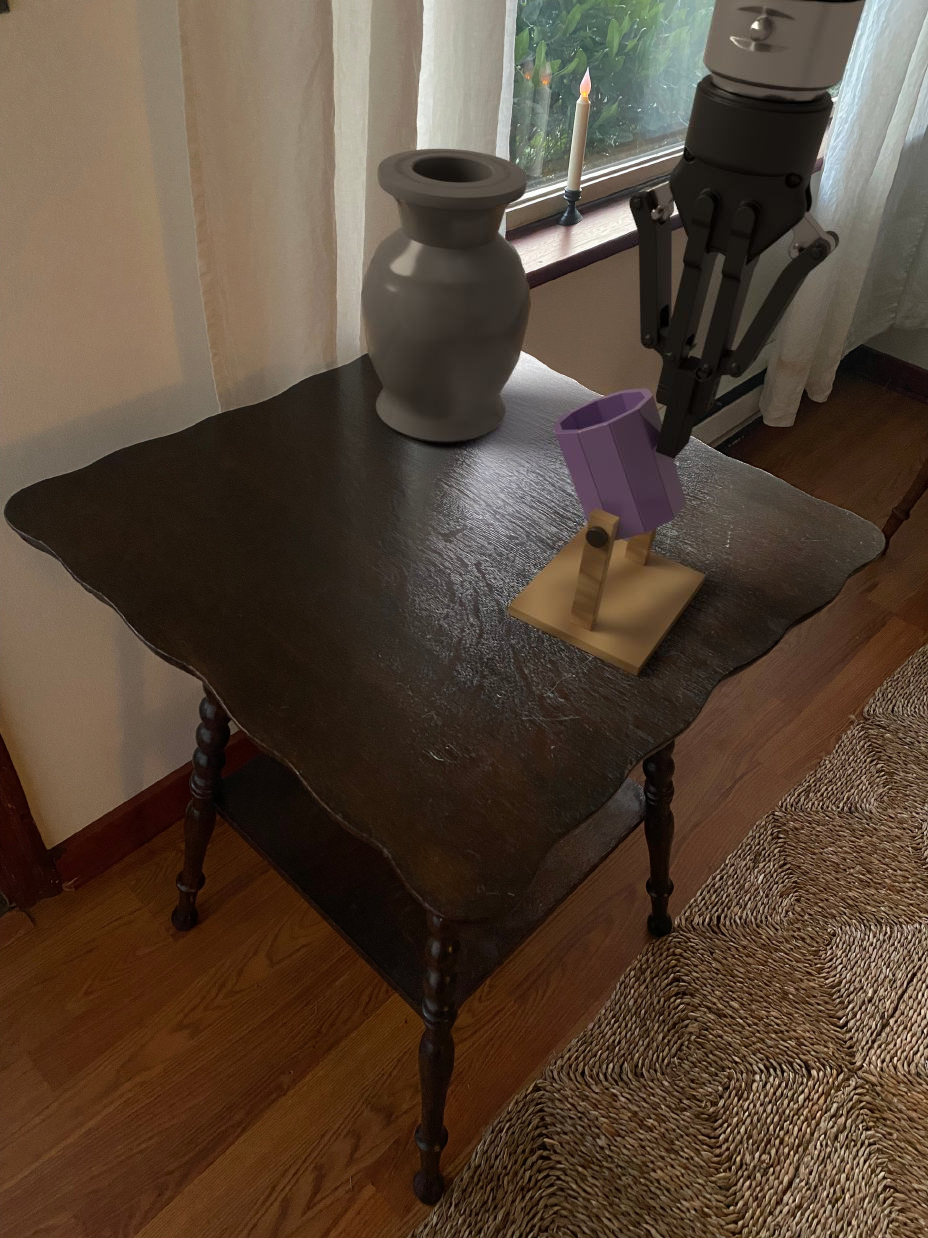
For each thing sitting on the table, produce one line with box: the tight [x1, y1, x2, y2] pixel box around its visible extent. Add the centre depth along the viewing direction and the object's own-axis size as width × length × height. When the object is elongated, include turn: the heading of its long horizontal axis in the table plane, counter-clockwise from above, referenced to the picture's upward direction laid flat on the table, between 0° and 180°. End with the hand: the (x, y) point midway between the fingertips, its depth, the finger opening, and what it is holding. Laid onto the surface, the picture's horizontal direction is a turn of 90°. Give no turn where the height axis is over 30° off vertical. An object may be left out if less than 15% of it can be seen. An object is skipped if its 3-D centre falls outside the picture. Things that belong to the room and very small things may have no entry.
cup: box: [552, 387, 688, 540], centre depth 69 cm, size 8×9×9 cm
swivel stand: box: [507, 456, 707, 677], centre depth 73 cm, size 12×14×12 cm
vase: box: [360, 148, 532, 444], centre depth 89 cm, size 17×17×25 cm
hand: (672, 446), depth 66 cm, fingers closed
